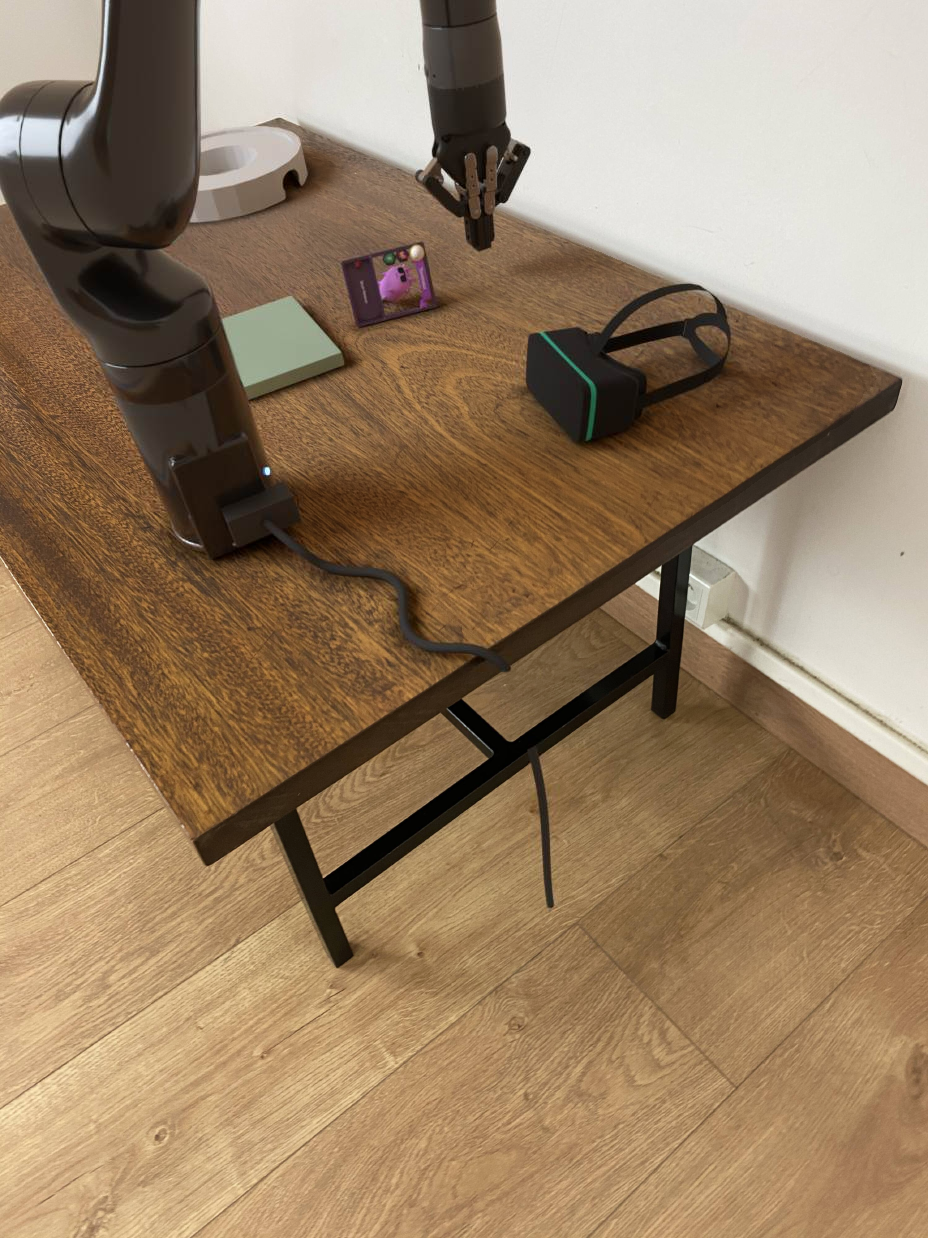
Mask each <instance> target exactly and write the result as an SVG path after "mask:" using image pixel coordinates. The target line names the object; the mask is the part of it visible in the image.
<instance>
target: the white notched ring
mask: <svg viewBox="0 0 928 1238" xmlns="http://www.w3.org/2000/svg"><path fill="white" fill-rule="evenodd" d="M304 155H305V154H304V151H303V146H302V142H301V140H300V137H299V136H298V135H296V134H295V133H294V132H292V131H290V130H287V129H285V128H281V127H275V126H266V125H244V126H236V127H227V128H226V127H225V128H222V129H217V130H211V131H206V132H203V133H202V132H201V157H200V176H199V185H198V192H197V198H196V203H195V207H194V211H193V214H192V217H191V219H190V222H189V223H206V222H207V223H208V222H219V221H224V220H229V219H233V218H239V217H243V216H246V215H249V214H252V213H255V212H260V211H262V210H265V209H268V208H270V207H272V206H274V205H277V204H278V203H280V202H283V201H284V200H285V199H286V197H287V196H286V193H287V192H286V190H285V189H284V184H283V183H284V178H285V176H286V174H287V173H289V172H290V171H291V173H292V174H293V176H294V178H295V179H296V180H297V182H298V183H299V185H300V186H301V187H302V186H303V185H304V184H305V183H306V180H307V178H308V175H309V174H308V168H307V165H306V160H305V156H304Z"/></svg>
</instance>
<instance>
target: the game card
mask: <svg viewBox="0 0 928 1238" xmlns="http://www.w3.org/2000/svg"><path fill="white" fill-rule="evenodd" d="M408 250H409V251H408ZM378 257H382V259H381V260H382V262H383V263H384V264H385V265H386V267H390V266H391V267H390V268H389V269H388V270H387V271H385V272H382V273H381V275H382V276H383V277H382V279H381V280H379V281H378V278H377V273H376V270H375V265H374V261H373V258H378ZM409 258H411V259H412V261H413V262H414V265H415V269H416V273H417V276H418V279H417V278H416V277H411V274H410V273H409V272H410V271H411V270H414V267H409V266H407V267H405V265H406V262H408V260H409ZM396 261H398V263H399V265H396V266H393V265H395V264H396ZM402 263H404V264H403V265H402V266H401V264H402ZM340 267H341V270H342V275H343V278H344V283H345V286H346V290H347V294H348V297H349V298H348V299H349V303H350V306H351V310H352V314H353V319H354V322H355V325H356V327H358V328H361V327H364V326H369V325H372V324H377V323H380V322H384V321H388V320H391V319H396V318H400V317H403V316H408V315H411V314H415V313H419V312H423V311H427V310H430V309H434V308H437V306H438V305H437V303H438V302H437V299H436V294H435V289H434V284H433V281H432V280H433V279H432V275H431V270H430V265H429V261H428V256H427V252H426V246H425V243H424V242H423V241H418V242H414V243H410V244H406V245H401V246H397V247H394V248H389V249H385V250H381V251H377V252H373V253H369V254H365V255H361V256H356V257H353V258H349V259H344V260H341V261H340ZM417 280H418V281H419V286H420V291H421V299H420V300H419V306H418V307H415V308H411V309H406V310H404V311H398V312H395V313H391V314H386V313H385V312H386V311H385V308H384V304H383V303H384V302H383V301H385V300H386V301H387V302H397V301H400V300H402V299H404V298H406V297H407V295H409V293H410V291H411V289H413V281H415V282H416V281H417ZM428 300H430V302H431V303H430V304H427V301H428Z"/></svg>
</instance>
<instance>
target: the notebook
mask: <svg viewBox="0 0 928 1238" xmlns="http://www.w3.org/2000/svg"><path fill="white" fill-rule="evenodd" d="M222 321H223V324H224V327H225V330H226V333H227V336H228V339H229V342H230V345H231V348H232V351H233V355H234V358H235V361H236V364H237V367H238V370H239V373H240V376H241V379H242V382H243V385H244V388H245V391H246V394H247V397H248V400H249V401H250V400H253V399H256V398H258V397H261V396H264V395H267V394H269V393H272V392H275V391H277V390H280V389H283V388H285V387H288V386H291V385H294V384H297V383H299V382H302V381H305V380H308V379H311V378H313V377H316V376H318V375H321V374H324V373H326V372H327V373H328V372H329V371H332V370H335V369H337V368H340V367H343V366H345V361H344V355H343V352H342V351H341V350H340V348H339V347H338V346H337V345H336V344H335V343H334V342H333V341H332V339H330V337H329V336H328V335H327V334H326V333H325V332H324V330H323V329H322V328H321V327H320V326H319V325H318V323H316V321H315V320H314V319H313V318H312V317H311V316H310V315H309V314H308V312H307V311H306V310H305V309H304V307H302V306H301V305H300V304H299V302H298V301H297V299H296V298H294V297H293V295H289V296H286V297H283V298H280V299H277V300H273V301H271V302H268V303H265V304H262V305H259V306H256V307H253V308H250V309H247V310H245V311H241V312H239V313H235V314H233V315H229V316H227V317H224V318H222Z"/></svg>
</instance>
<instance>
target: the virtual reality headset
mask: <svg viewBox="0 0 928 1238" xmlns="http://www.w3.org/2000/svg"><path fill="white" fill-rule="evenodd" d="M687 291H701V292H706V293H709V295H710V296H711V297H712V298H713V300H714V302H715V306H716V312H709V311H708V312H702V313H701V312H700V313H699V314H696V315H695V316H694V317H685V318H684V319H683V320H677V321H670V322H665V323H662V324H658V325H654V326H650V327H646V328H642V329H639V330H635V331H631V332H627V333H624V334H621V335H617V336H613V335H614V333H615V332H616V331H617V330H618V328H619V327H620V326H621V325H622V324H623V323H624V322H625V321H626V320H627V319H628V318H629V317H630V316H631V315H632V314H634V313H636V312H637V311H638V310H639V309H641V308H642V307H644V306H646V305H648V304H649V303H651V302H653V301H656V300H659V299H661V298H664V297H666V296H668V295H672V294H676V293H681V292H687ZM701 327H716V328H718V329H719V330H720V331H722V332H723V333H724V334H725V336H726V339H727V350H726V352H725V354H724V356H723V357H721V356H720V355H718V354H717V353H716V352H714V351H713V350H712V349H711V348H710V347H709V346H708V345H707V344H706V343H705V342H704V341H703V340H702V339H701V337H699V336H698V334H697V331H696V330H697V329H698V328H701ZM674 337H682V338H683V339H685V340H688V341H689V344H690V346H691V348H692V350H694V352H695V354H696V355H697V356H698V358H699V359H700V360H701V361H702V362H703V363H704V364H705V365H706V366H708V368H706V370H703V371H701V372H698V373H695V374H693V375H690V376H687V377H684V378H681V379H679V380H676V381H673V382H671V383H668V384H665V385H663V386H661V387H658V388H655V389H653V390H650V391H647V388H648V387H647V386H648V376H647V375H646V374H645V373H644V372H643V371H642V370H640V369H637V368H634V367H632V366H630V365H627V364H624V363H623V362H620V361H618V360H617V359H615V358H613V357H611V356H610V355H609V353H614V352H618V351H621V350H625V349H629V348H632V347H635V346H639V345H643V344H647V343H652V342H657V341H660V340H665V339H669V338H674ZM731 337H732V331H731V328H730V323H729V322H728V316H727V313H726V309H725V306H724V305H723V303H722V301H721V300H720V299H719V298H718V296H716V295H714V294H713V293H712V292H711V291H709V290H708V289H706V288H705V287H703V286H701V284H696V283H695V284H694V283H689V282H688V283H678V284H672V285H671V284H670V285H666V286H663V287H662V286H661V287H659V288H656V289H654V290H651V291H649V292H647V293H644V294H642V295H640V296H638V297H637V298H634V299H633V300H631V301H630V302H628V303H627V304H626V305H625V306H624V307H622V308H621V309H620V310H619V311H618V312H617V313H616V314H615V315H614V316H613V317H612V318H611V320H609V322H608V323H607V324H606V325H605V327H604V328H603V329H602V330H601V332H600V331H594V333H588V331H586V330H585V329H583V328H581V327H579V326H574V327H567V328H560V329H553V330H547V331H540V332H539V331H538V332H531V333H530V334H529V335H528V339H527V348H526V361H525V384H526V389H527V390H528V391H529V393H530V394H531V395H532V396H533V397H534V398H535V399H536V401H537V402H538V403H539V404H540V406H541V407H543V409H544V410H545V411H546V412H547V414H549V416H550V417H551V419H553V420H554V422H555V423H556V424H557V425H558V426H559V428H561V429H562V430H563V432H564V433H565V434H566V435H567V436H568V437H569V439H570V440H572V442H573V443H574V444H580V443H584V442H587V441H591V440H595V439H598V438H603V437H605V436H609V435H613V434H617V433H620V432H624V431H627V430H629V429H630V428H631V426H632V423H633V421H635V420H637V419H639V418H641V416H642V415H643V410H644V409H646V408H649V407H651V406H654V405H657V404H659V403H662V402H664V401H667V400H670V399H672V398H675V397H678V396H680V395H682V394H685V393H688V392H691V391H694V390H696V389H697V388H700V387H702V386H703V385H705V384H708V383H710V382H711V381H712V380H714V379H715V378H716V377H717V376H718V375H720V373H721V372H722V371H723V370H724V368H725V367H724V366H725V364H726V362H727V359H728V356H729V353H730V347H731V339H732V338H731Z"/></svg>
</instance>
